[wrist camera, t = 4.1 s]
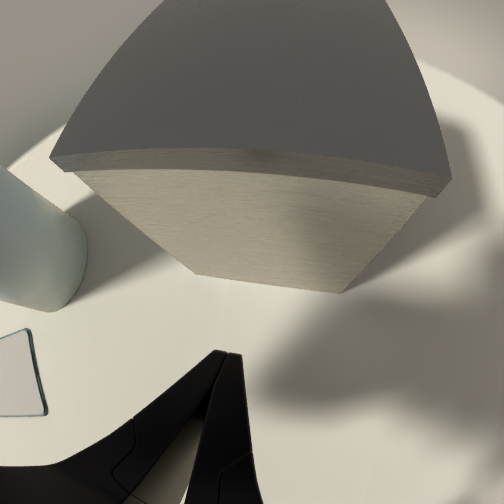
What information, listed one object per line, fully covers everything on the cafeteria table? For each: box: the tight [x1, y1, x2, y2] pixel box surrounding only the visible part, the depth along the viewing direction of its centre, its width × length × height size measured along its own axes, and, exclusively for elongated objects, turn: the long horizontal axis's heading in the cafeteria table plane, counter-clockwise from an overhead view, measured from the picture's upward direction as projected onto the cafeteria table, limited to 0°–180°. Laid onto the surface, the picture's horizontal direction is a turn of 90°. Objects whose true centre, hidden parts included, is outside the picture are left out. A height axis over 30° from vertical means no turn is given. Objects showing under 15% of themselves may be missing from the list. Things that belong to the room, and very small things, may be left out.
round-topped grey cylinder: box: [0, 165, 88, 312], centre depth 14 cm, size 8×8×9 cm
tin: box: [49, 0, 452, 294], centre depth 11 cm, size 8×8×12 cm
